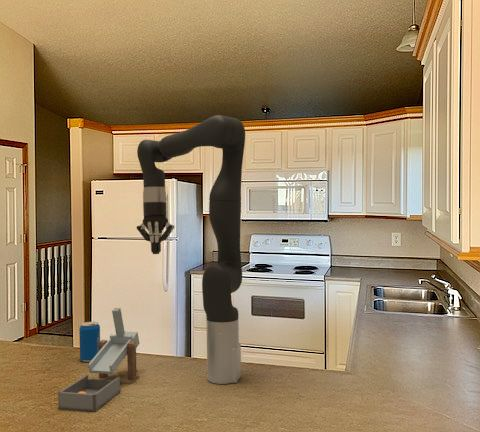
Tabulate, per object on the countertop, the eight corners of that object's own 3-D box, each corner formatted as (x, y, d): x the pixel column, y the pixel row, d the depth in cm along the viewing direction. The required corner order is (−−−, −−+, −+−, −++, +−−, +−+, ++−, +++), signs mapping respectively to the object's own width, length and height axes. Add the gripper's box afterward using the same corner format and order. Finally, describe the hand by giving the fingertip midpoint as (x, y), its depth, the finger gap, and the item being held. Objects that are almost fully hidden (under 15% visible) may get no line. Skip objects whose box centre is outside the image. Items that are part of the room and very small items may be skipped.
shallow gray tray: (120, 391, 128) (119, 377, 128) (95, 411, 116) (94, 395, 116) (86, 389, 131) (86, 374, 130) (58, 408, 118) (58, 392, 118)
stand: (140, 378, 139) (139, 340, 139) (132, 384, 134) (131, 345, 134) (103, 375, 142) (103, 338, 141) (95, 381, 137) (94, 343, 137)
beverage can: (94, 363, 154) (93, 326, 153) (76, 362, 155) (75, 325, 155) (104, 357, 160) (103, 321, 160) (86, 356, 161) (85, 321, 161)
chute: (140, 343, 145) (133, 301, 141) (114, 381, 128) (105, 334, 124) (120, 342, 147) (112, 301, 143) (91, 379, 130) (81, 333, 126)
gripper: (131, 201, 154) (132, 255, 154) (169, 200, 151) (170, 254, 151) (141, 202, 162) (142, 253, 162) (177, 200, 159) (179, 252, 159)
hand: (156, 253), depth 157 cm, fingers closed
